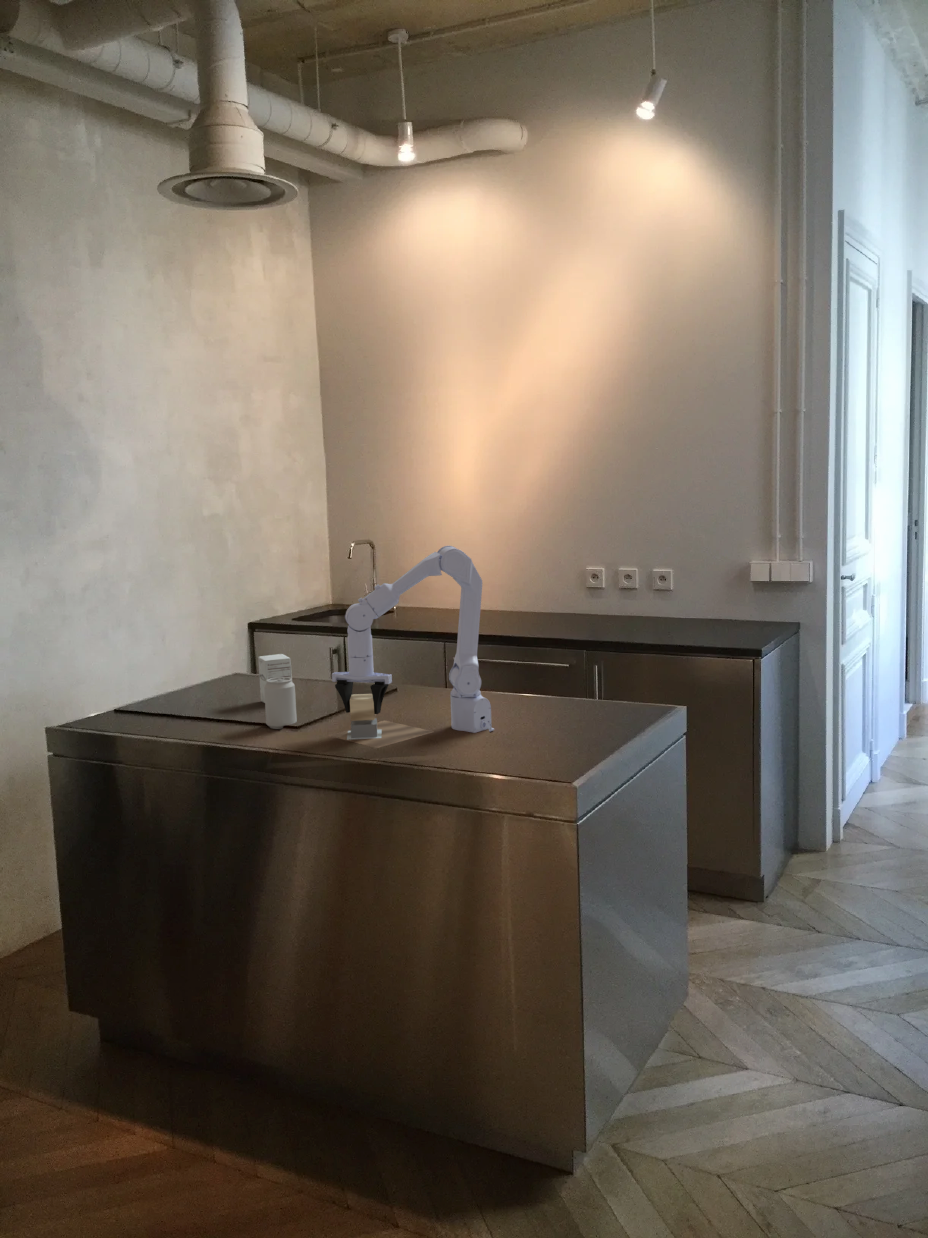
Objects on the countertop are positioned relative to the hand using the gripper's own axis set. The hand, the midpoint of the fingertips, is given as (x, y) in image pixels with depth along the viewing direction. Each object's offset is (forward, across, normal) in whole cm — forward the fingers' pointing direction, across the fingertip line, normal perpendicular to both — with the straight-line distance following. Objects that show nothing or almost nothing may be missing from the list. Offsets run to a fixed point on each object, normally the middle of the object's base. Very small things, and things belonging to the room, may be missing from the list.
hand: (363, 712), depth 258 cm
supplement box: (+7, +40, -30) cm, 50 cm away
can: (+6, +26, -6) cm, 27 cm away
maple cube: (+1, 0, 0) cm, 1 cm away
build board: (+6, -4, -2) cm, 7 cm away
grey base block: (+5, 0, 0) cm, 5 cm away
